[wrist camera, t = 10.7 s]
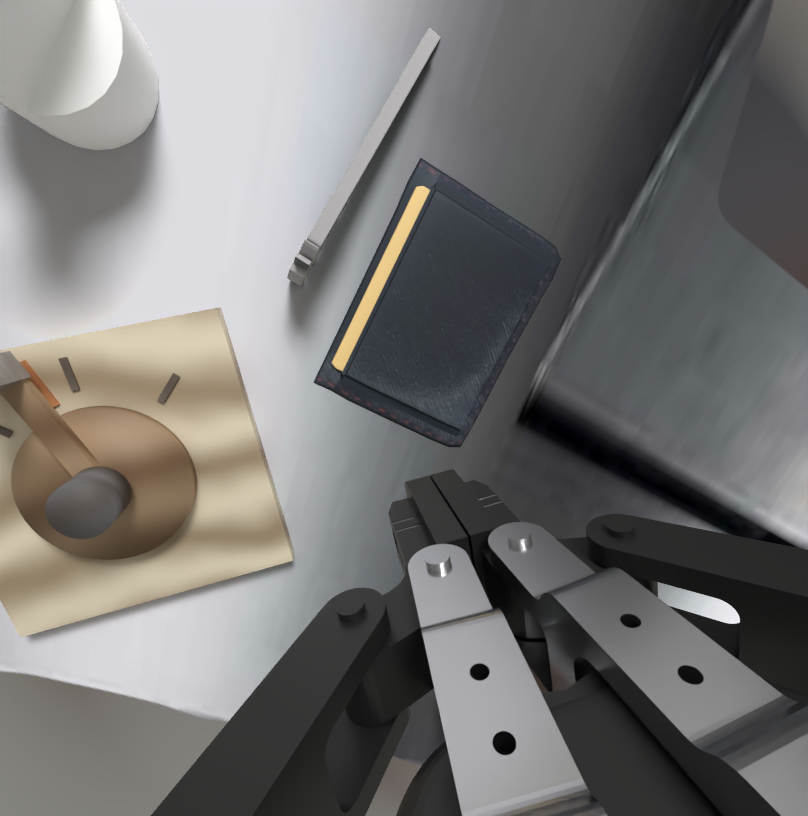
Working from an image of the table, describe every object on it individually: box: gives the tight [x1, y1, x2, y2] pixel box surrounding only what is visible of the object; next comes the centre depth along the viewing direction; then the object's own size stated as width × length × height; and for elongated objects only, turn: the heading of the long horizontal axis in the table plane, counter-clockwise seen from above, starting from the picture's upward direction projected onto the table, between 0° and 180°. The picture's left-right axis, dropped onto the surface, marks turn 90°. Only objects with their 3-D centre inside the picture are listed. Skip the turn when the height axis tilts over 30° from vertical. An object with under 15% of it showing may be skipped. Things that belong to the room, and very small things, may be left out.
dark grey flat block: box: [314, 158, 561, 447], centre depth 37 cm, size 20×2×15 cm
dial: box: [0, 351, 197, 560], centre depth 29 cm, size 17×12×7 cm
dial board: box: [0, 308, 294, 637], centre depth 34 cm, size 22×22×2 cm
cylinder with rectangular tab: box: [0, 0, 159, 150], centre depth 23 cm, size 9×9×12 cm
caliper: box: [287, 28, 441, 286], centre depth 30 cm, size 21×1×6 cm, turn 148°
